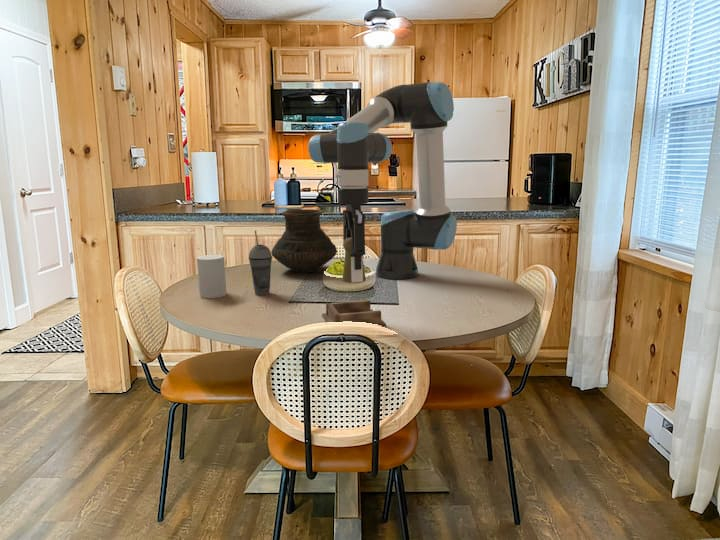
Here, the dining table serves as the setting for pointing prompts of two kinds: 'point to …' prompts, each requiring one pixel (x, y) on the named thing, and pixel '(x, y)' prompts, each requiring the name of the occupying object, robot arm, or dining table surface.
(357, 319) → the brown wooden tray
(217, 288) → the grey cylinder
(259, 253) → the beverage cup
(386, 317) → the dining table surface
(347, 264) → the olive tall piece
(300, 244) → the ceramic pot
